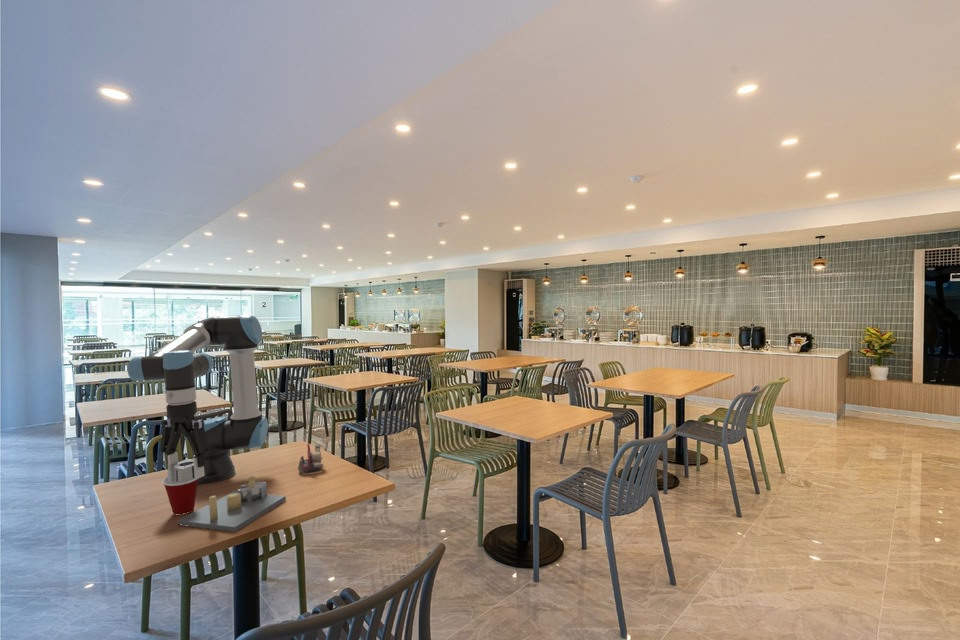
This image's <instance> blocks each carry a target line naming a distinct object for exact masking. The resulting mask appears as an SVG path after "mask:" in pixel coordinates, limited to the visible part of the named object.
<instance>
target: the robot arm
mask: <svg viewBox="0 0 960 640" xmlns="http://www.w3.org/2000/svg"><path fill="white" fill-rule="evenodd" d="M262 341H263V331H262V325H261V323H260V321H259V319H258V318H257V317H256V316H254V315H250V314H249V315H247V314H240V315H224V316H212V317H211V316H210V317H208V318H204V319H201V320H200V321H197V322H195V323H192V324H191V325H190V326H188V327H186V329H184V331H183V333H182V334H180V335H179V336H178V337H176V338H174V339H172V340H171V341H169V342H168V343H167V344H166V343H165V345H163V346H162V347H160V348H158V349H157V350H156V351H154V352H152V353H150V354H149V355H148V356H138V357H137V356H136V357H133V358H131V359H130V360H129V362H128V364H127V366H126V367H127V369H126V370H127V374H128V377H129V379H130V380H132V381H134V382H137V381H138V382H139V381H141V382H147V381H159V380H160V381H162V380H163V381H164V390H165V402H166V404H167V405H166V417H167V418H168V419H165V420H163V421H161V425H162V426H161V427H162V431H161V432H162V434H161V441H160V453H164V454H165V455H166V461H167V462H166V463H167V467H168V468H167V469H169V465H171V464H173V463H177V462H179V454H178V453H179V452H178V450H177V448H178V444H179V442H180V439H181V436H182V435H183V436H184V437H185V438H186V439H187V441H188V444H189V445H190V448H191V450H192V452H193V454H194V456H193V457H192V459H193V463H194V477H195V479H198V478H199V480H198V484H199V485H200V484H211V483H215V482H220V481H222V480H226V479H228V478H230V477H231V476H233V475H235V473H236V467H235V464H234V462H233V460H232V459H231V456H230V452H229V450H231V451H233V450H242V449H244V450H245V449H255V448H259V447H262V446H263V444H264V443H265V441H266V439H267V436H268V432H269V420H268V419H267V417H263V412H262V411H260V410H259V408H258V396H257V395H258V394H257V383H256V380H257V379H256V368H255V367H256V366H255V352H256V350H257V349H258V346H259V345H258V344H260V343H261V342H262ZM210 346H224V350H225V352H227V353H228V354H229V361H230V362H229V363H230V374H231V387H232V388H231V390H232V402H233V403H232V404H233V412H232V414H231V416H230V417H229V420H228V418H227V417H226V416H218V417H212V418H209V419H206V420H196V418H195V415H197V413H198V408H197V406H198V405H197V402H196V400H197V392H196V379H197V378H200V377H203V376H206V375H207V374H209V373H210V372H211V371H212V370H213V368H214V361H213V360H214V359H213V358H212V357H211V356H210V355H209V354H208V353H205V352H196V351H197V350H203V349H205V348H207V347H210ZM198 484H197V485H198Z"/></svg>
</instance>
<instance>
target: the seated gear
mask: <svg viewBox="0 0 960 640" xmlns="http://www.w3.org/2000/svg"><path fill="white" fill-rule="evenodd" d="M239 486H240V487H239V488H238V489H237V492H238V493H240V494H241V502H247V503H251V502H252V501H256V500H259V499H263V498H265V494H268V490H267V488H268V487H267V482H266V481H257V480H255V486H254V487H249V482H248V483H245V484H244V483H243V484H241V485H239Z"/></svg>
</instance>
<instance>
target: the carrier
mask: <svg viewBox="0 0 960 640" xmlns="http://www.w3.org/2000/svg"><path fill="white" fill-rule="evenodd" d="M255 481H256V477H255V475H254V476H253V475H252V476H249V477H248V483H249V487H254V486H255ZM286 498H287V497H286V495H279V494H278V495H277V494H268V493H267V494H265V498H263V499H259V500H256V501H252V502H251V503H247V502H241V494H240V493H238V491H231V492H230V493H228V494H227V495H225V496H222V497H221V498H219V499H217V495H210V496H209V497H208V503H209V504H207V505H205V506H204V507H202V508H199V509H197V510H196V511H194V512H193V511H192V513H190V514H187V515H186V516H184V517H182V518H180V519H178V520H177V525H178V524H182V525H188V526H187V527H189V526H194V527H193V528H197V527H200V528H199V529H206V528H209V529H208V530H214V529H217V530H216V531H223V532H233V533H236V532H238V531H239V530H241V529H243V528H244V527H246V526H247V525H249V524H250V523H252V522H254V521H255V520H257V519H258V518H259V517H261V516H264V515H265V514H266V513H268V512H269V511H271V510H273V509H274V508H276V507H277V506H279V505H280V504H282V503H284V502H285V501H286V500H287V499H286Z"/></svg>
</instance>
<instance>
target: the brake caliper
mask: <svg viewBox="0 0 960 640" xmlns="http://www.w3.org/2000/svg"><path fill="white" fill-rule="evenodd" d="M306 446H307V459H305V457H304V455H302V456H301V457H300V460H299V462H298V467H297V470H298V472H299V473H300V474H301V475H302V476H305V475H306V476H307V475H313V474H319V473H323V472H324V471H323V470H320V469H321V468H322V467H323V466H324V463H322V459H323V457H322V452H321V444H315V445H314V448H315V449H314V451H311V446H310V443H309V442H308V443H307V445H306Z"/></svg>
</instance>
